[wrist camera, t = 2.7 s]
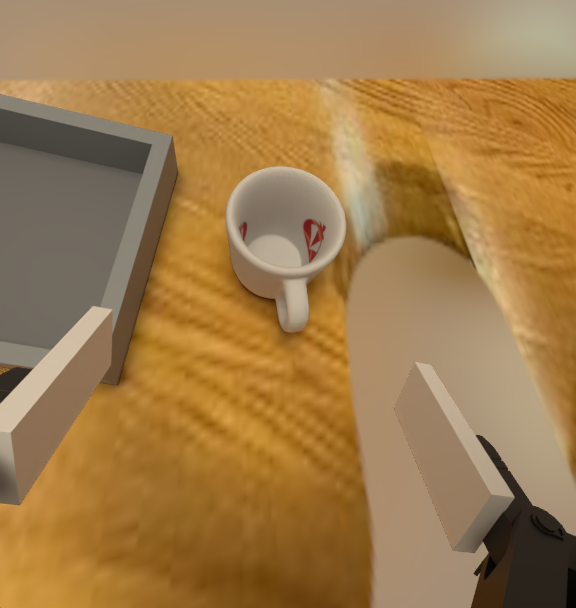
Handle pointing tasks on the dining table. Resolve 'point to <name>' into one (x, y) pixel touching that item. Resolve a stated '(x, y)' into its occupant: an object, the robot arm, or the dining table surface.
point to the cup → (283, 237)
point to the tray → (75, 225)
